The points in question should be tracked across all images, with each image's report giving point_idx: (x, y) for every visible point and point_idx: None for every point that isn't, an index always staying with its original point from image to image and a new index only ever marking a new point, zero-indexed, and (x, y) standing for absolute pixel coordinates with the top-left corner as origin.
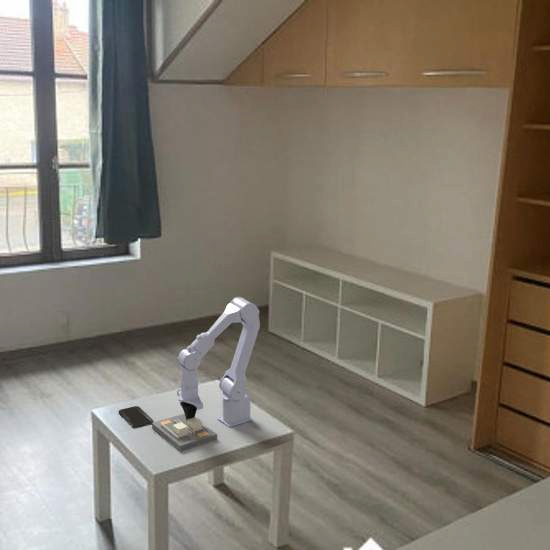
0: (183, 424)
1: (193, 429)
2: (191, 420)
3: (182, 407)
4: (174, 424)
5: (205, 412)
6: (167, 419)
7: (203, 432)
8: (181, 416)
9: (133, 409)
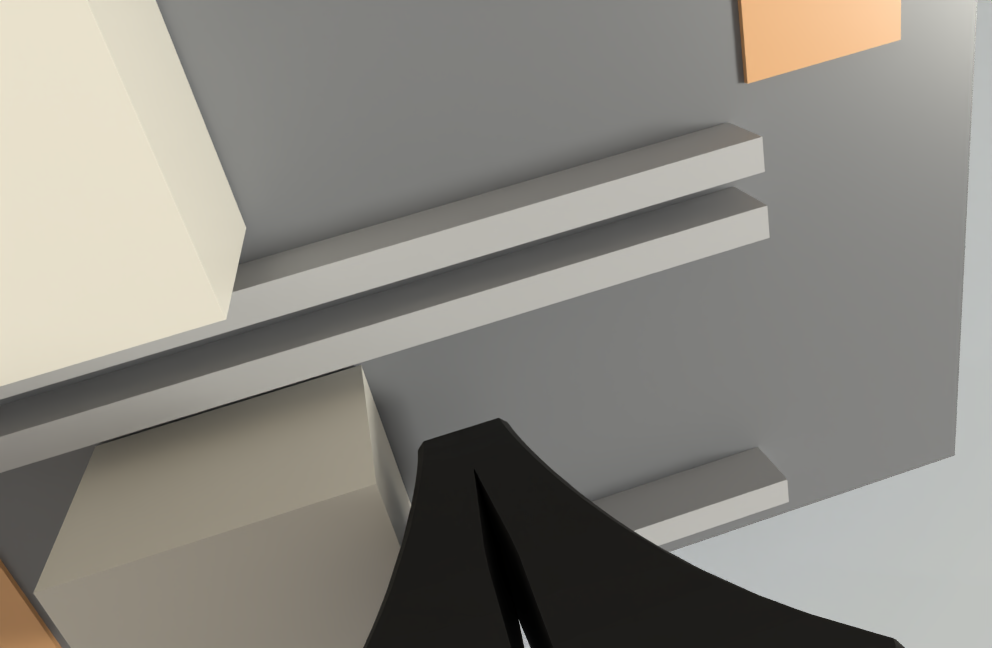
0: (35, 333)
1: (82, 484)
2: (271, 569)
3: (710, 609)
4: (92, 29)
5: (897, 633)
6: (936, 20)
7: (26, 616)
8: (891, 333)
9: None
